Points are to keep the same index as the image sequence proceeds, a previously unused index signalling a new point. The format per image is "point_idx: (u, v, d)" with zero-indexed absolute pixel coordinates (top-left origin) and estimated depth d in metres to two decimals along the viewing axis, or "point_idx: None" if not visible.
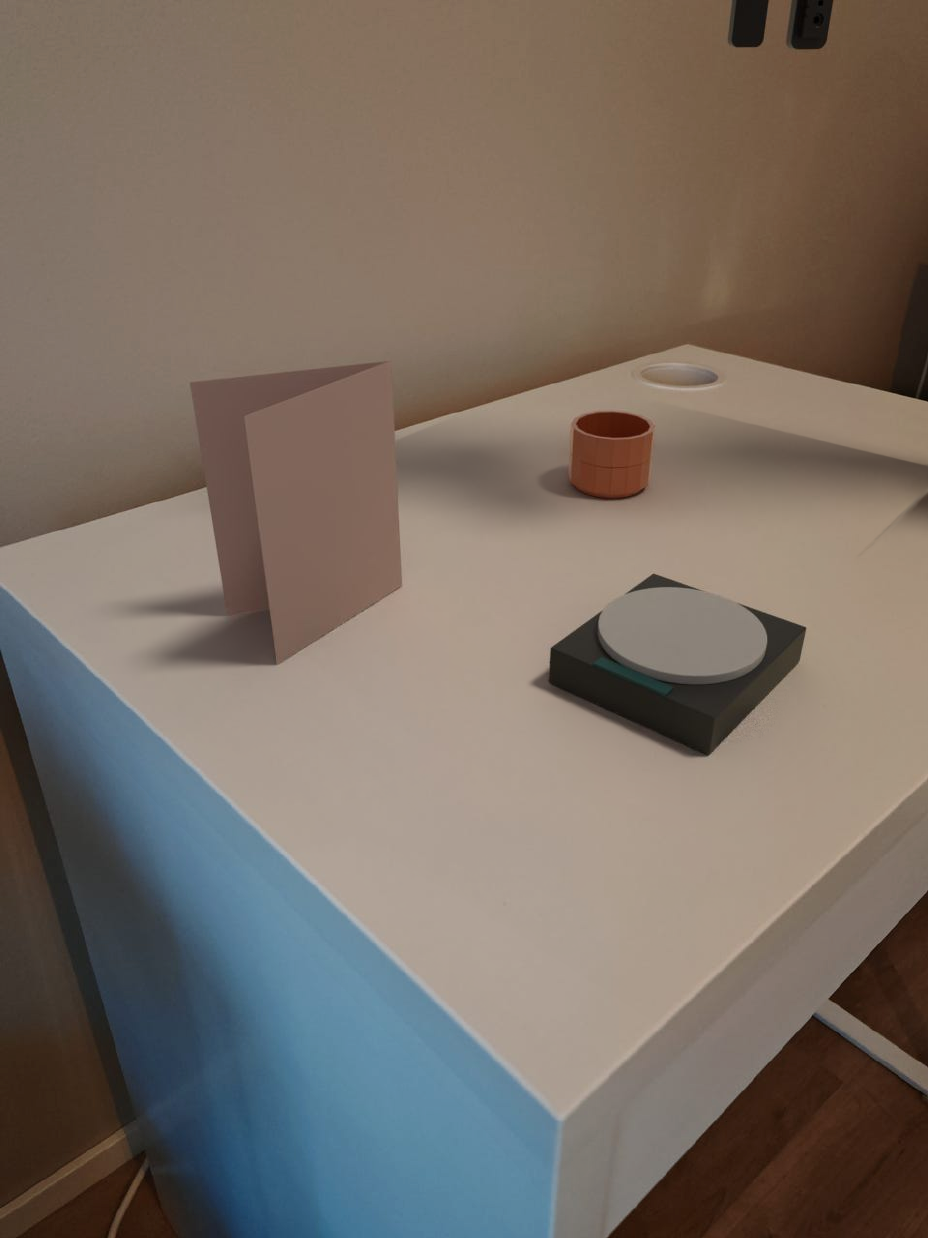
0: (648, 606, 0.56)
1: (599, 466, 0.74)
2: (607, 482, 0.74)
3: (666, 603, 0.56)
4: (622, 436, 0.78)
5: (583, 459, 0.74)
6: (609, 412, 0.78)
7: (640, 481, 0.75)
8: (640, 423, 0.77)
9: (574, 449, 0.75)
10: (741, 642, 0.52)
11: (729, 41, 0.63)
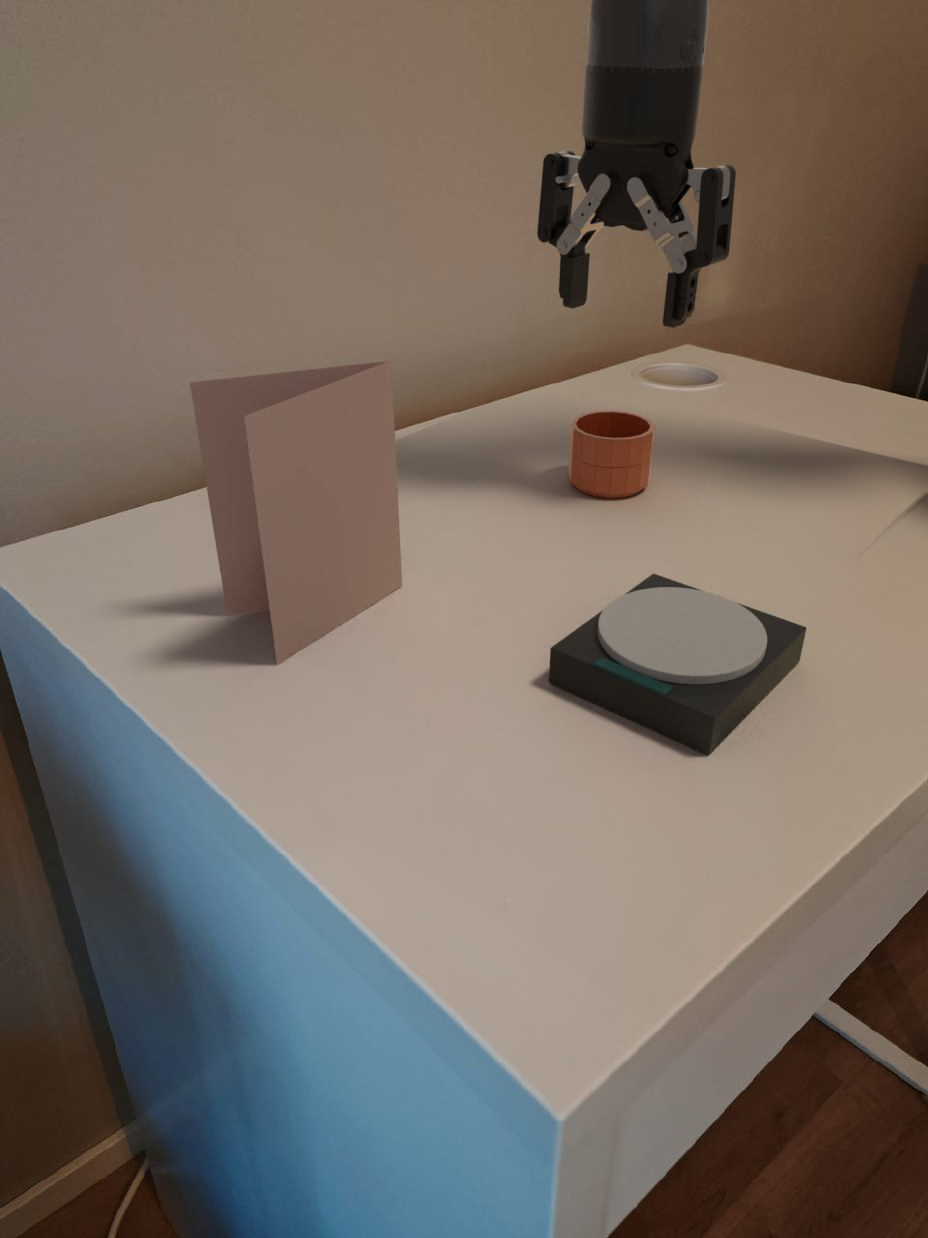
0: (648, 606, 0.56)
1: (599, 466, 0.74)
2: (607, 482, 0.74)
3: (666, 603, 0.56)
4: (622, 436, 0.78)
5: (583, 459, 0.74)
6: (609, 412, 0.78)
7: (640, 481, 0.75)
8: (640, 423, 0.77)
9: (574, 449, 0.75)
10: (741, 642, 0.52)
11: (565, 304, 0.72)
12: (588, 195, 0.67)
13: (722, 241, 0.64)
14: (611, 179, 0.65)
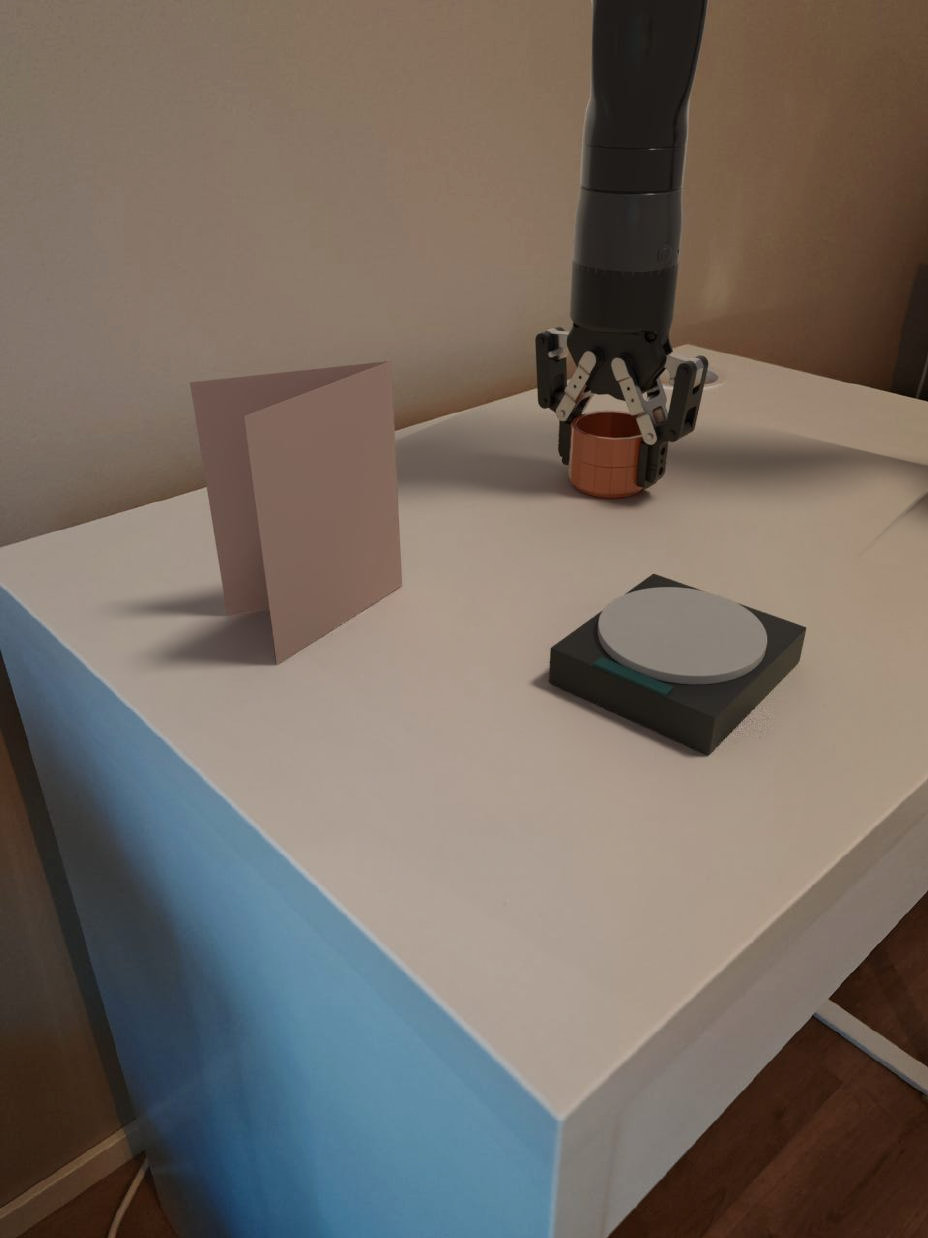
0: (648, 606, 0.56)
1: (599, 466, 0.74)
2: (607, 482, 0.74)
3: (666, 603, 0.56)
4: (622, 436, 0.78)
5: (583, 459, 0.74)
6: (609, 412, 0.78)
7: None
8: None
9: (574, 449, 0.75)
10: (741, 642, 0.52)
11: (564, 463, 0.78)
12: (578, 370, 0.73)
13: (690, 419, 0.71)
14: (597, 356, 0.72)
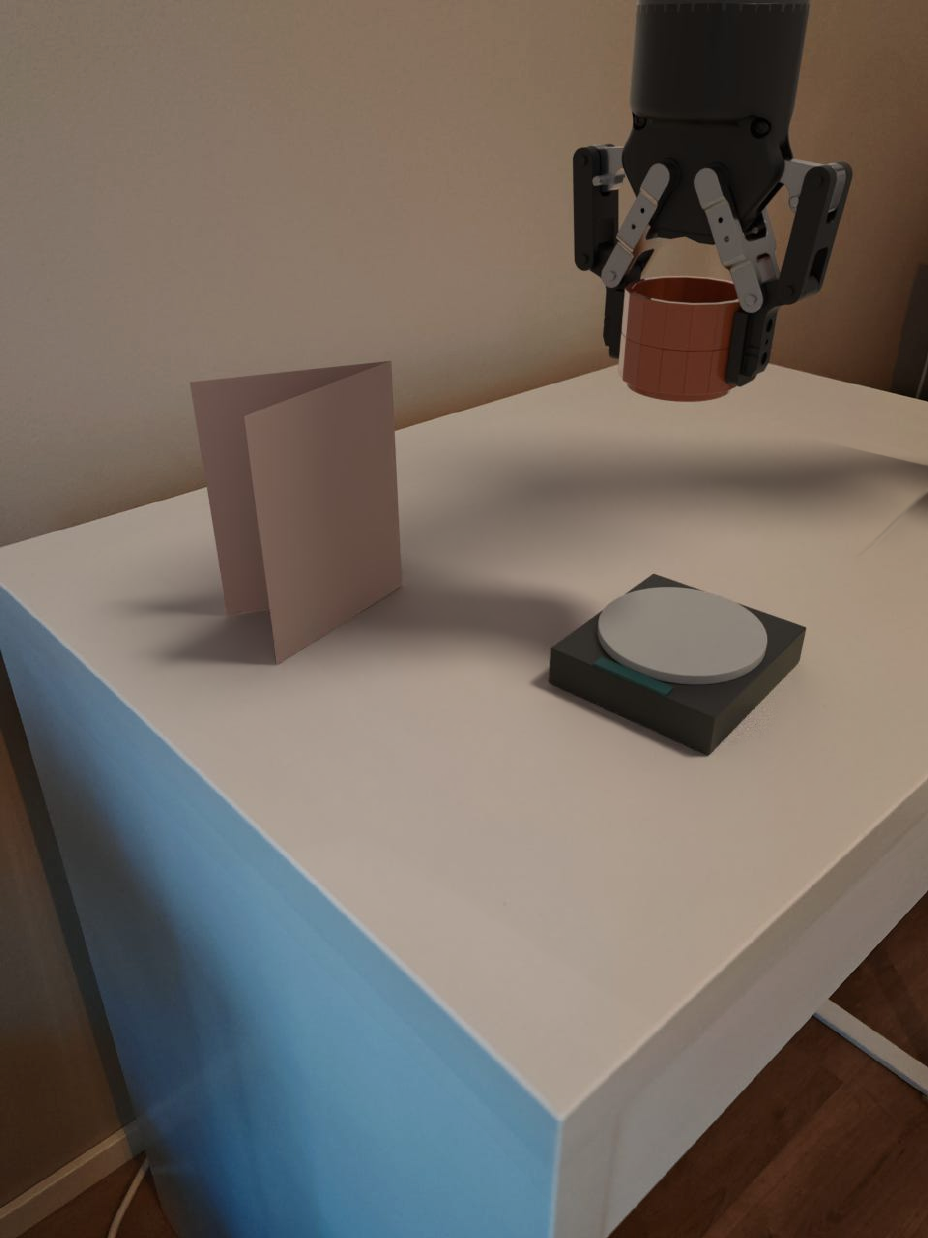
0: (648, 606, 0.56)
1: (668, 349, 0.48)
2: (680, 375, 0.48)
3: (666, 603, 0.56)
4: None
5: (644, 340, 0.49)
6: (681, 278, 0.52)
7: None
8: (729, 292, 0.51)
9: (629, 327, 0.49)
10: (741, 642, 0.52)
11: (613, 354, 0.53)
12: (639, 199, 0.47)
13: (816, 270, 0.45)
14: (671, 171, 0.46)
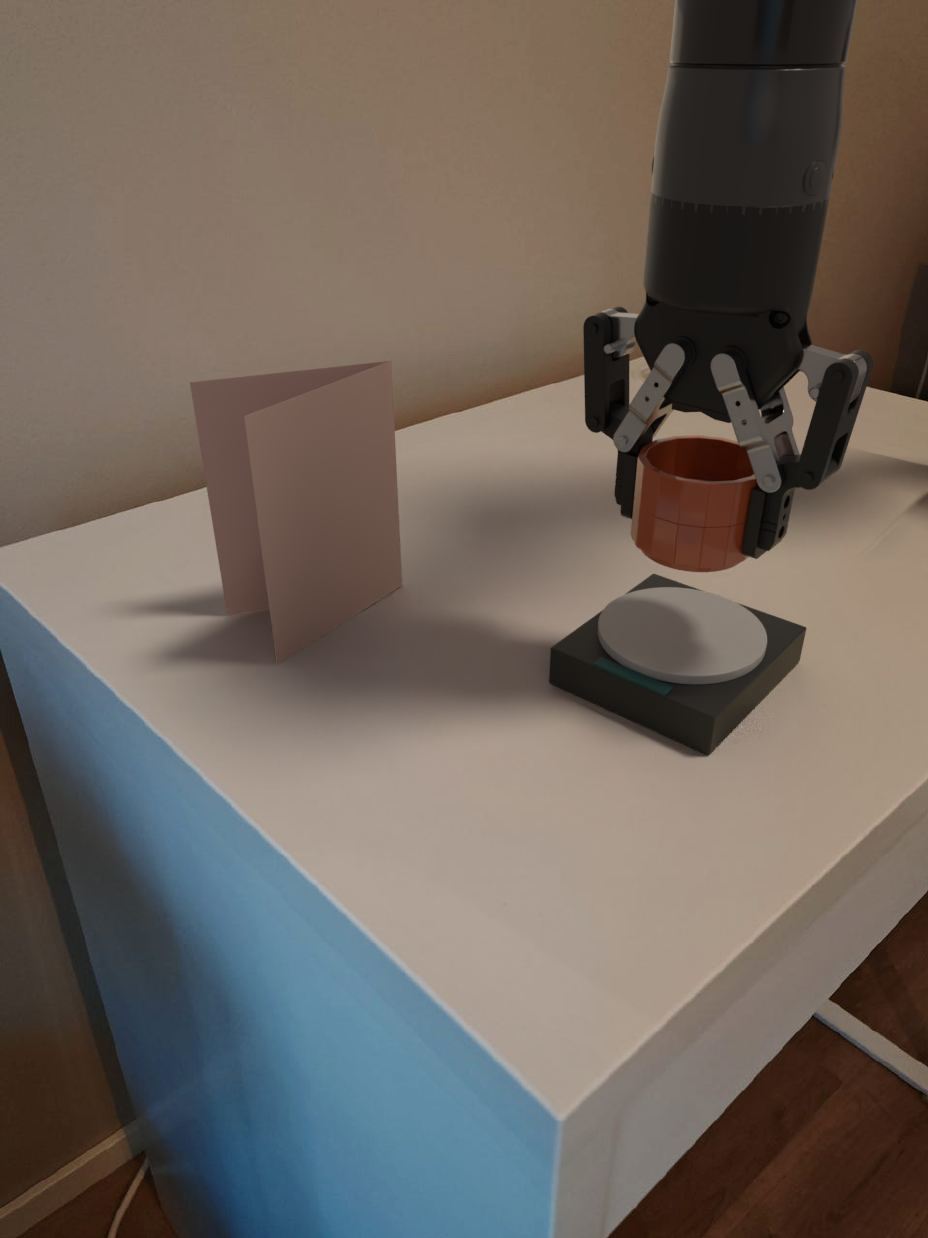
0: (648, 606, 0.56)
1: (684, 524, 0.47)
2: (696, 549, 0.47)
3: (666, 603, 0.56)
4: (712, 474, 0.51)
5: (659, 513, 0.48)
6: (694, 438, 0.51)
7: None
8: (743, 455, 0.50)
9: (643, 497, 0.48)
10: (741, 642, 0.52)
11: (624, 514, 0.52)
12: (653, 373, 0.46)
13: (835, 452, 0.45)
14: (686, 351, 0.45)
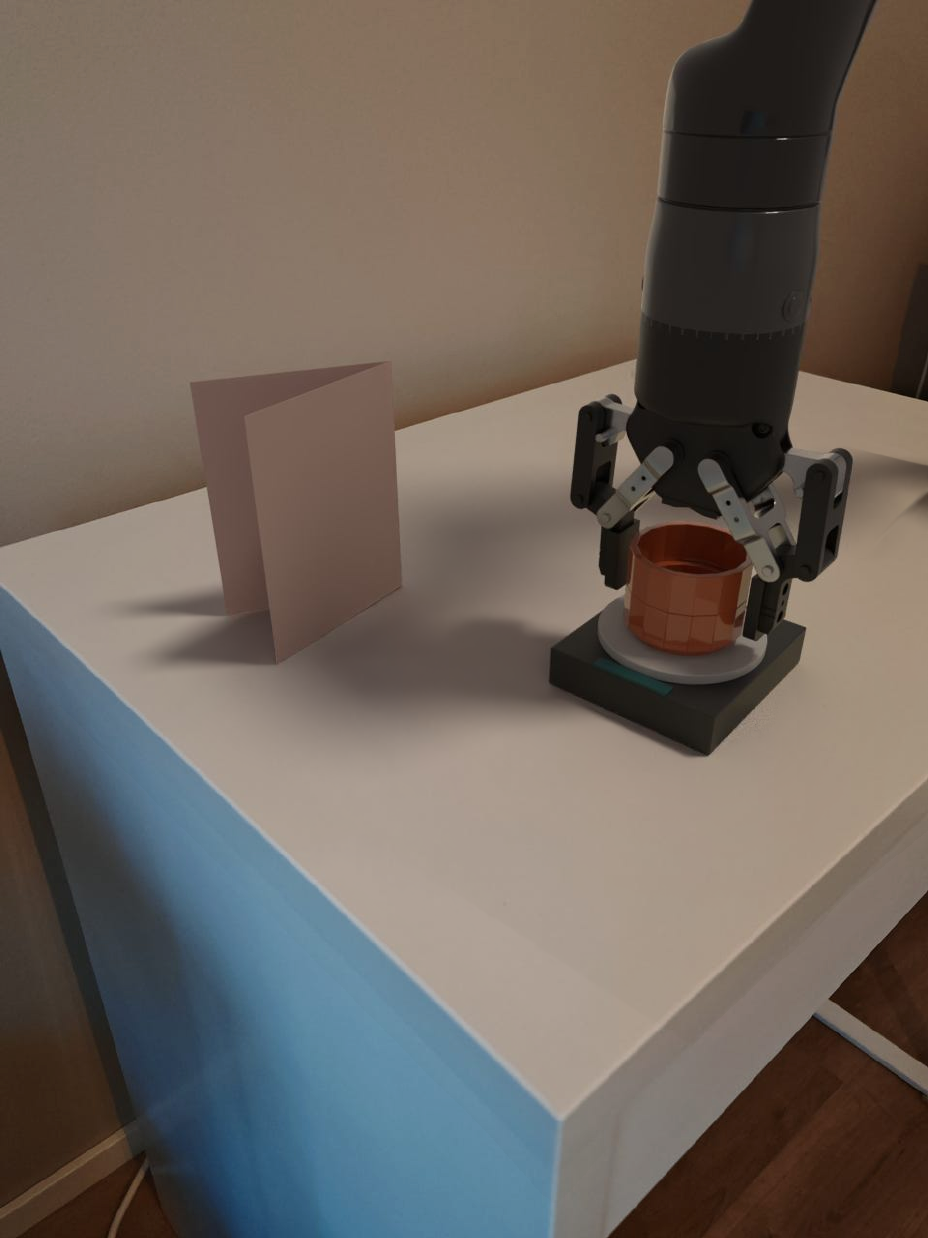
0: None
1: (673, 613, 0.50)
2: (685, 636, 0.50)
3: None
4: (701, 558, 0.54)
5: (649, 601, 0.50)
6: (683, 524, 0.53)
7: (732, 632, 0.51)
8: (730, 543, 0.52)
9: (634, 585, 0.51)
10: (741, 642, 0.52)
11: (608, 585, 0.54)
12: (641, 467, 0.49)
13: (829, 543, 0.47)
14: (674, 454, 0.47)
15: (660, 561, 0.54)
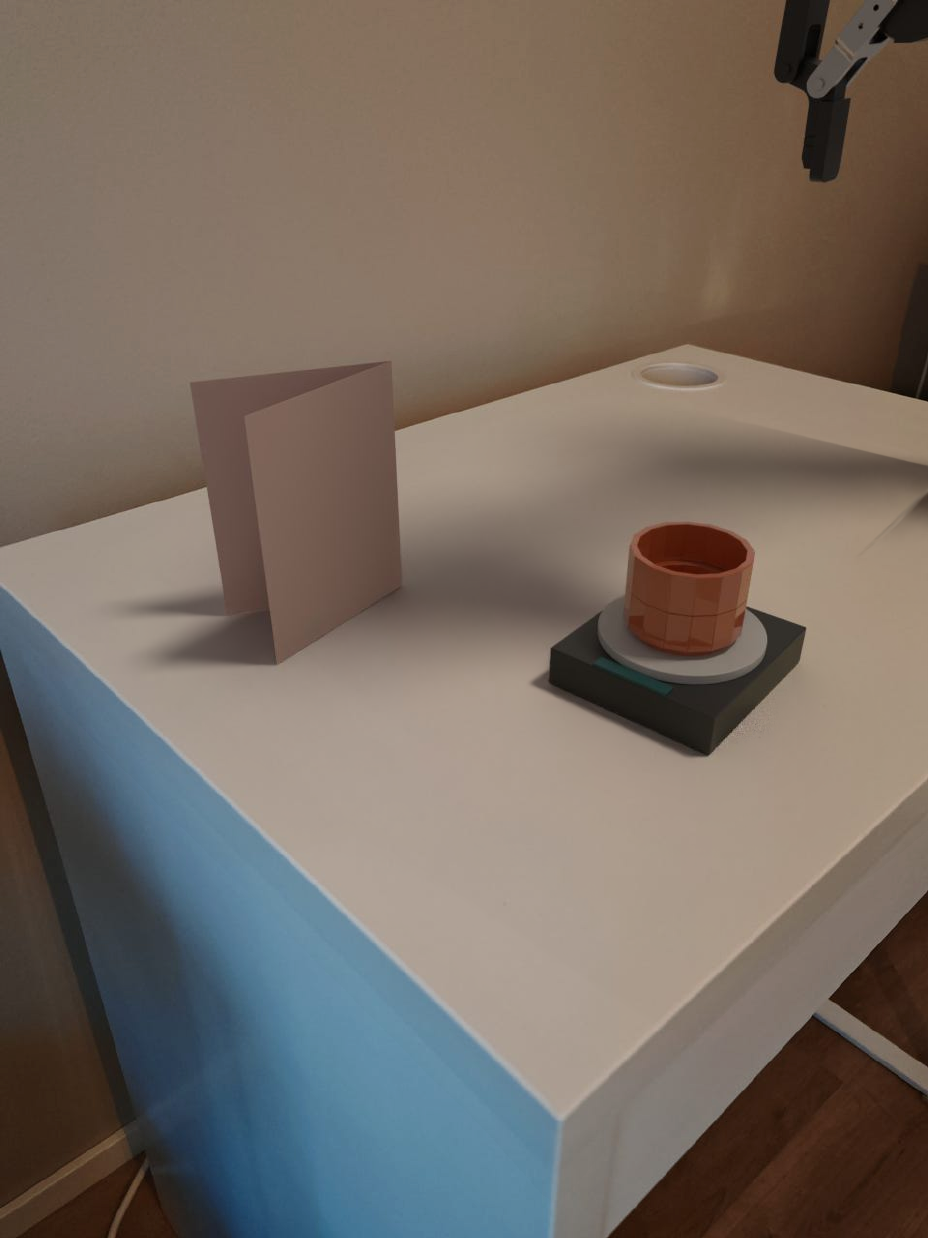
0: None
1: (673, 613, 0.50)
2: (685, 636, 0.50)
3: None
4: (701, 558, 0.54)
5: (649, 601, 0.50)
6: (683, 524, 0.53)
7: (732, 632, 0.51)
8: (730, 543, 0.52)
9: (634, 585, 0.51)
10: (741, 642, 0.52)
11: (814, 176, 0.49)
12: None
13: None
14: None
15: (660, 561, 0.54)
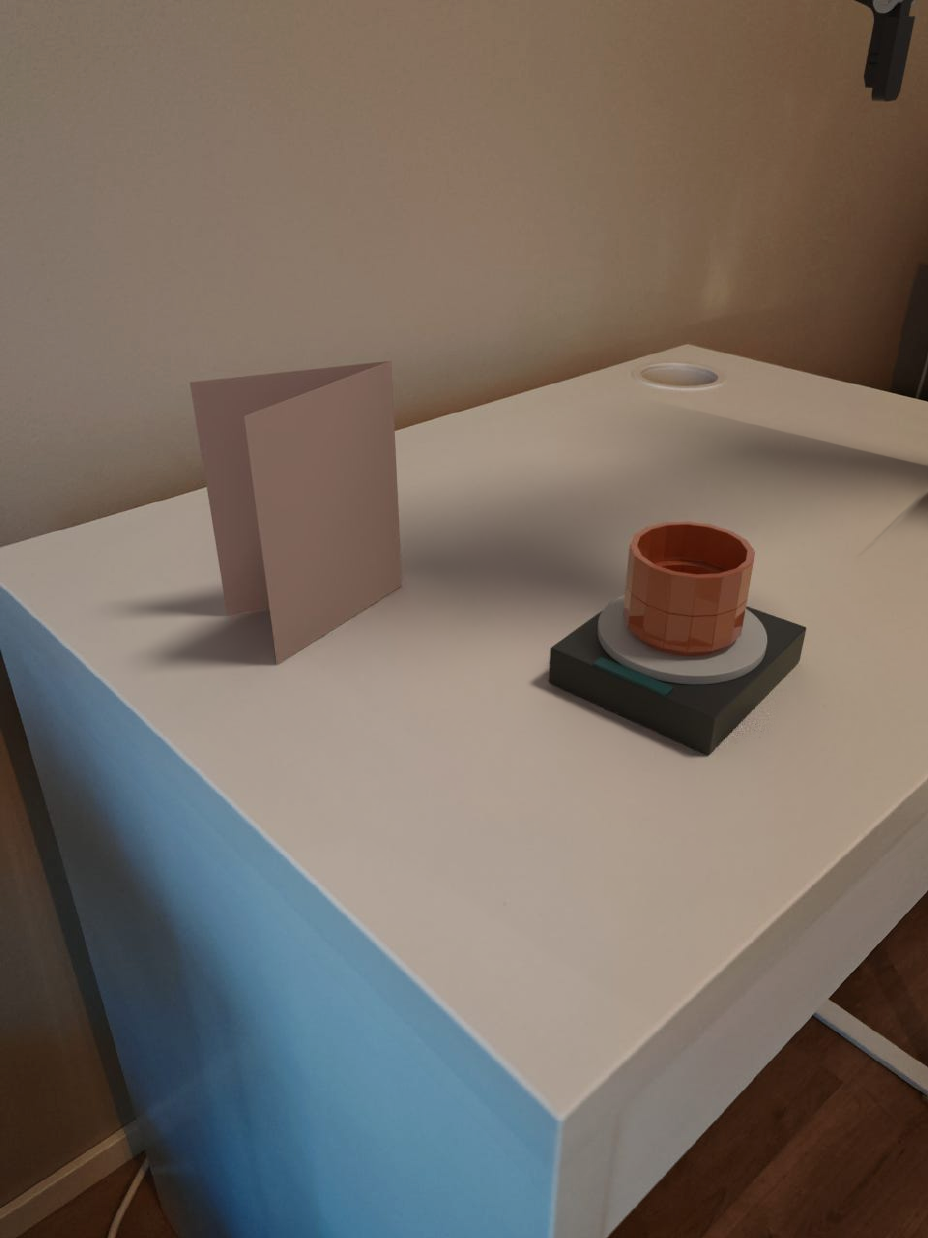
0: None
1: (673, 613, 0.50)
2: (685, 636, 0.50)
3: None
4: (701, 558, 0.54)
5: (649, 601, 0.50)
6: (683, 524, 0.53)
7: (732, 632, 0.51)
8: (730, 543, 0.52)
9: (634, 585, 0.51)
10: (741, 642, 0.52)
11: (876, 94, 0.49)
12: None
13: None
14: None
15: (660, 561, 0.54)
